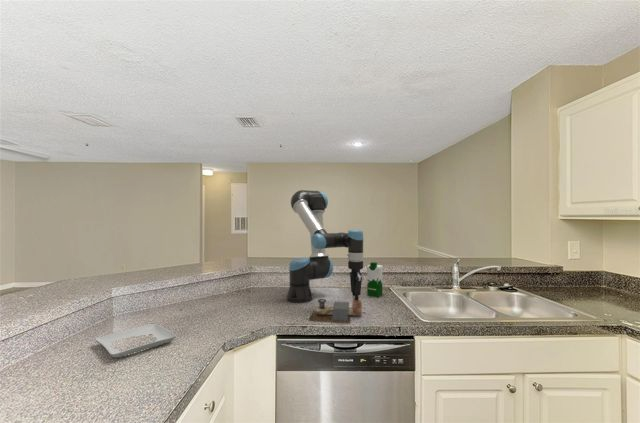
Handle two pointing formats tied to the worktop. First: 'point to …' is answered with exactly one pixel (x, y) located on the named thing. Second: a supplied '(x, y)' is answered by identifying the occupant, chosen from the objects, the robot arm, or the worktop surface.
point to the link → (352, 310)
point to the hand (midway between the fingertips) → (355, 307)
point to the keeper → (338, 313)
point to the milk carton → (374, 279)
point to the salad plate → (155, 329)
